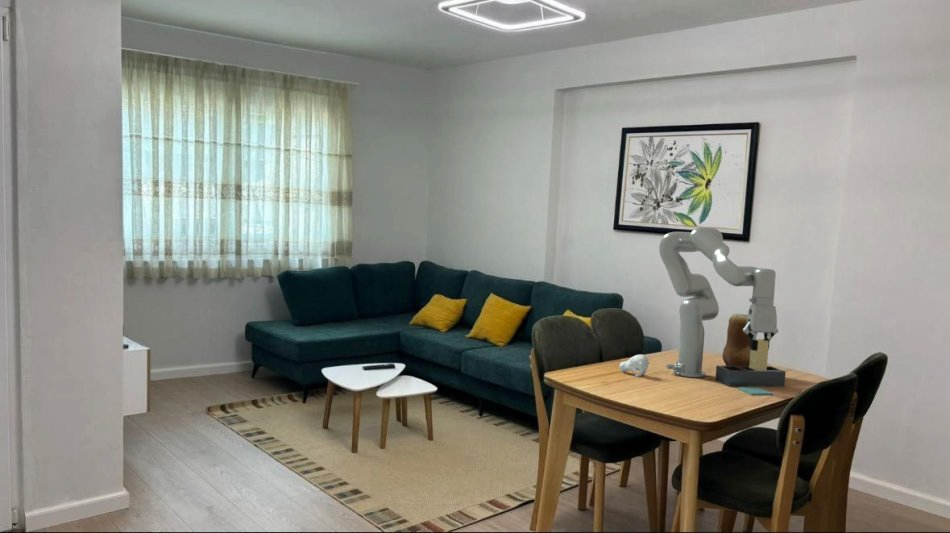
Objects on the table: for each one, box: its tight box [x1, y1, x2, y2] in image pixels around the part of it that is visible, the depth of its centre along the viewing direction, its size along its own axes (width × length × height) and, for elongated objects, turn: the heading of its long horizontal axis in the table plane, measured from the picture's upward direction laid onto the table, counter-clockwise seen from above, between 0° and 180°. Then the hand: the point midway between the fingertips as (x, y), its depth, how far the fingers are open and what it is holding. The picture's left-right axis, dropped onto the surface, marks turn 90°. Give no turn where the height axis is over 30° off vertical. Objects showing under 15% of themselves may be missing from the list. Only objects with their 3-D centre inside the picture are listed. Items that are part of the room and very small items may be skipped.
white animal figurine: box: [619, 354, 650, 378], centre depth 291 cm, size 6×8×12 cm
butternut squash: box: [722, 312, 751, 366], centre depth 304 cm, size 14×13×25 cm
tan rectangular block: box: [749, 338, 770, 370], centre depth 270 cm, size 4×4×11 cm
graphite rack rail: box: [715, 365, 787, 388], centre depth 285 cm, size 24×10×6 cm, turn 102°
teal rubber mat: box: [737, 387, 774, 396], centre depth 272 cm, size 9×9×1 cm
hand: (759, 349), depth 270 cm, fingers closed on tan rectangular block, 4 cm apart
